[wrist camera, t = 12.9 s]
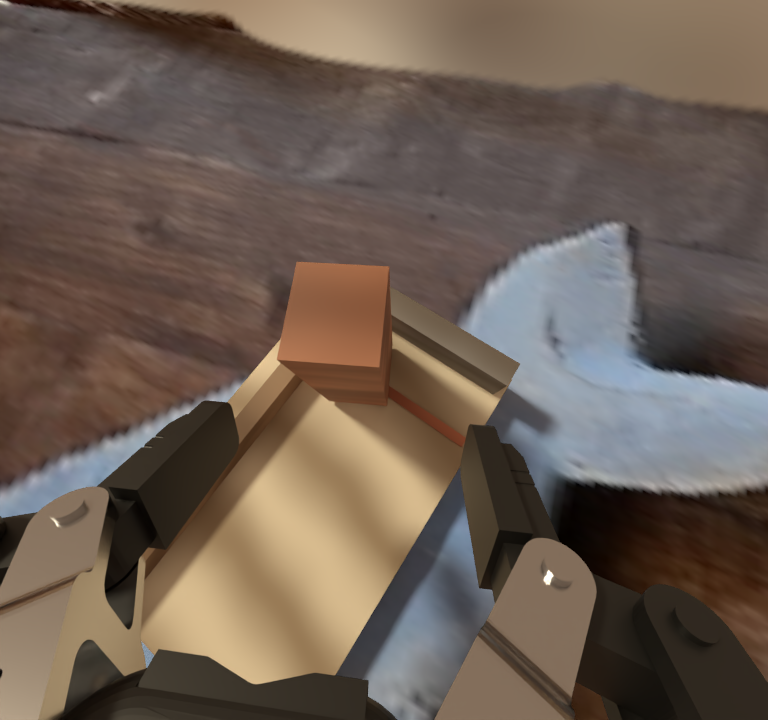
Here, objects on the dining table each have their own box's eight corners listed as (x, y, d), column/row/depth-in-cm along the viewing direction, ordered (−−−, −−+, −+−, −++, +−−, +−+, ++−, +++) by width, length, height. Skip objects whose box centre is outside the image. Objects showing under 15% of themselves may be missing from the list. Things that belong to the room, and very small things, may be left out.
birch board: (281, 753, 15) (242, 854, 11) (107, 564, 18) (29, 593, 14) (503, 385, 20) (528, 368, 16) (340, 284, 23) (329, 250, 19)
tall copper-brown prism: (387, 406, 18) (379, 367, 10) (329, 401, 19) (276, 359, 10) (393, 334, 20) (390, 250, 12) (339, 331, 20) (299, 246, 12)
